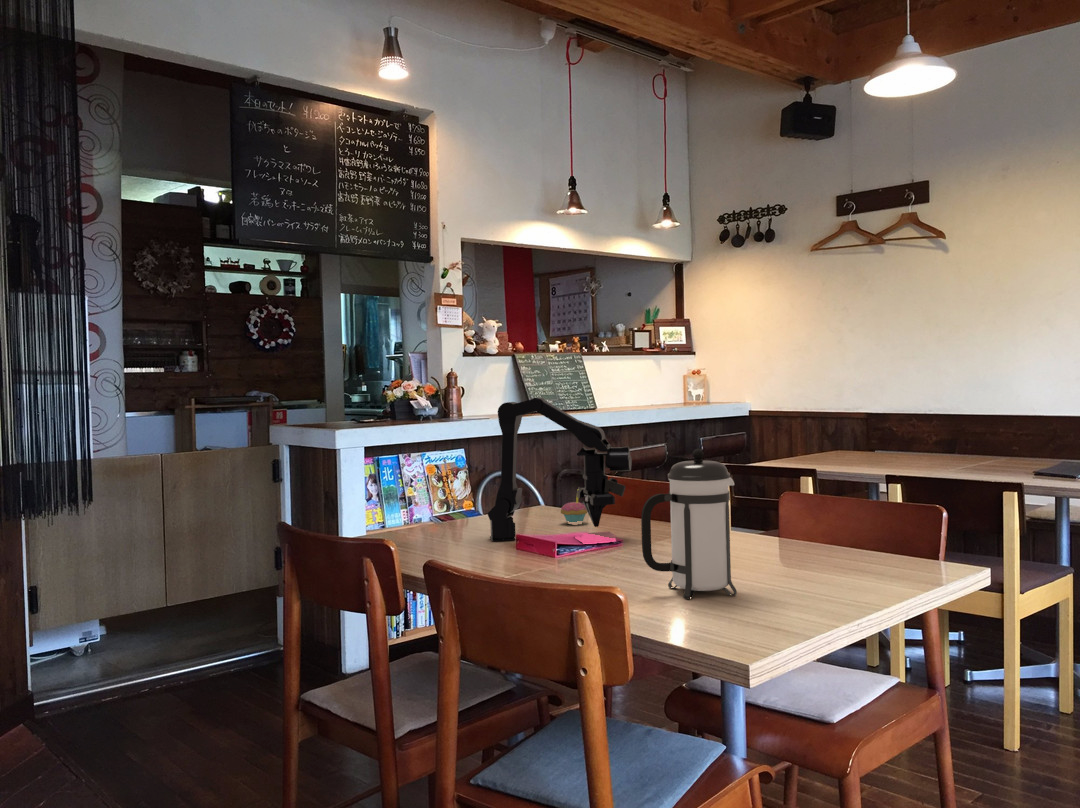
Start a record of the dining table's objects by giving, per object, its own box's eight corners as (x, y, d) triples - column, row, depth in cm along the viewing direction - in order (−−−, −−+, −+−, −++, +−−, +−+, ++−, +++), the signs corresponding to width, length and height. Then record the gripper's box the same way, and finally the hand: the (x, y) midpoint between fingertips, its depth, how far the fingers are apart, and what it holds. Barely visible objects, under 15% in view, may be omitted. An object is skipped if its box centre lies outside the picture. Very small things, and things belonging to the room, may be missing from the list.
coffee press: (683, 579, 188) (680, 445, 187) (750, 589, 177) (747, 446, 177) (641, 596, 174) (637, 451, 174) (711, 607, 164) (707, 453, 163)
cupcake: (592, 523, 269) (591, 485, 268) (579, 527, 261) (578, 488, 261) (569, 521, 273) (568, 484, 273) (556, 525, 266) (554, 487, 266)
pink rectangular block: (582, 539, 239) (588, 543, 232) (581, 533, 239) (588, 537, 232) (609, 537, 241) (616, 541, 234) (609, 531, 241) (616, 535, 234)
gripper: (632, 472, 230) (633, 530, 230) (612, 467, 248) (614, 519, 248) (592, 475, 228) (594, 532, 228) (575, 469, 246) (577, 522, 246)
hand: (596, 526), depth 238 cm, fingers closed
